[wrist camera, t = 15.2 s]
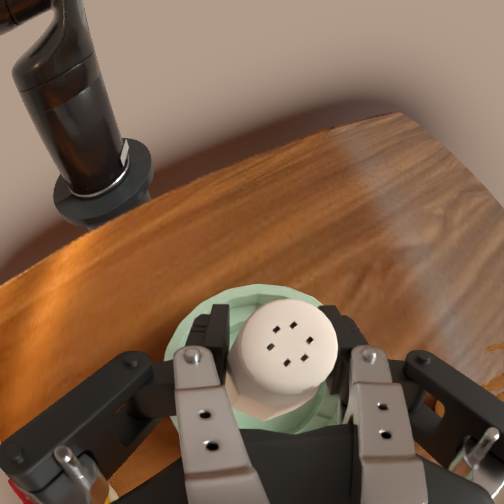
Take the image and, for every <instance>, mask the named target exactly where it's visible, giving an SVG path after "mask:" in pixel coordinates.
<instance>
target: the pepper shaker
mask: <svg viewBox="0 0 504 504" xmlns="http://www.w3.org/2000/svg"><path fill="white" fill-rule="evenodd" d="M337 351H338V342H337V337H336V332H335V330H334V328H333V326H332V324H331V322H330V321H329V319H328V318H327V317H326V316H325V314H324V313H323V312H322V311H320V310H319V309H317V308H316V307H315V306H313V305H311V304H309V303H306V302H304V301H302V300H296V299H278V300H274V301H271V302H268V303H265V304H264V305H262V306H261V307H259V308H258V309H256V310H254V311H253V313H252V314H251V315H250V316H249V317H248V318H247V319H246V321H245V323H244V324H243V326H242V328H241V329H240V331H239V333H238V335H237V337H236V339H235V341H234V343H233V345H232V347H231V349H230V351H229V353H228V356H227V358H226V360H225V361H226V368H227V373H226V382H225V388H226V391H227V394H228V397H229V400H230V404H231V406H232V408H233V409H235V410H237V411H240V412H242V413H244V414H247V415H249V416H251V417H254V418H256V419H258V420H261V421H266V420H269V419H272V418H274V417H277V416H280V415H282V414H285V413H287V412H290V411H292V410H295V409H296V408H298V407H300V406H301V405H303V404H304V403H306V402H307V401H309V400H310V399H312V398H313V397H314V396H315V395H316V393H317V391H318V389H319V387H320V384H321V383H322V382H323V381H324V380H325V379H326V378H327V376H328V375H329V374H330V372H331V371H332V369H333V367H334V364H335V362H336V359H337Z"/></svg>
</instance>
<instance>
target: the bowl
mask: <svg viewBox="0 0 504 504" xmlns="http://www.w3.org/2000/svg"><path fill="white" fill-rule="evenodd" d="M278 299H296V300H302V301H304V302H306V303H309V304H311V305H313V306H315V307H316V308H317V309H318V306H321V305H323V304H321V303H320V302H319V301H317V300H316V299H315V298H313V297H311V296H309V295H306V294H304V293H301V292H299V291H296V290H294V289H291V288H289V287H285V286H275V285H264V284H253V285H248V286H242V287H237V288H231V289H228V290H225V291H223V292H221V293H219V294H217V295H215V296H213V297H211V298H209V299H207V300H205V301H203V302H202V303H200V304H199V305H198V306H197V307H196V308H195V309H194V310H193V311H192V312H191V313H190V314H189V315H188V316H187V317H186V318H184V319H183V320H182V321H181V322H180V324H179V326H178V327H177V329H176V331H175V333H174V335H173V337H172V338H171V340H170V342H169V344H168V346H167V348H166V351H165V356H164V361H168V360H171V359H173V354H174V353H175V351H177V350H178V349H180V348H182V347H184V346H185V343H186V340H187V338H188V335H189V332H190V329H191V327H192V324H193V321H194V319H195V318H196V317H198V316H199V315H200V314H210V313H211V309H212V305H213V304H229V306H230V346H229V351H230V349H231V347H232V345H233V343H234V341H235V339H236V337H237V335H238V333H239V331H240V329H241V328H242V326H243V324H244V323H245V321H246V319H247V318H248V317H249V316H250V315H251V314H252V313H253V311H254V310H256V309H258V308H259V307H261V306H262V305H264V304H265V303H268V302H271V301H274V300H278ZM339 399H340V395H339V394H335V395H330V394H329V391H328V388H327V385H326V382H325V380H324V381H323V382H322V383H321V384H320V387H319V389H318V391H317V393H316V395H315V396H314V397H313V398H312V399H310V400H309V401H307V402H306V403H304V404H303V405H301V406H300V407H298V408H296V409H295V410H292V411H290V412H287V413H285V414H282V415H280V416H277V417H274V418H272V419H269V420H266V421H261V420H258V419H256V418H254V417H251V416H249V415H247V414H244V413H242V412H240V411H237V410H235V409H233V408H232V410H233V413H234V416H235V419H236V422H237V425H238V428H239V429H263V430H268V431H274V432H281V433H287V434H300V433H303V432H307V431H311V430H314V429H318V428H321V427H325V426H331V425H337V410H338V402H339ZM231 407H232V406H231ZM169 417H170V418H171V420H172V422H173V424H174V426H175V428H176V429H177V431H178V422H177V416H169ZM178 433H179V431H178Z"/></svg>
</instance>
